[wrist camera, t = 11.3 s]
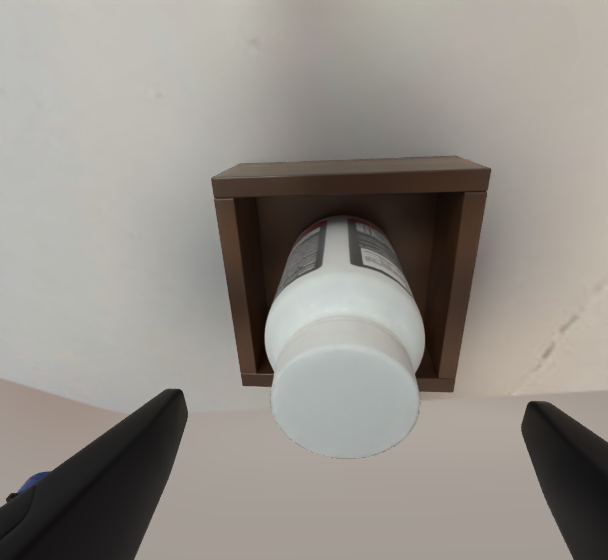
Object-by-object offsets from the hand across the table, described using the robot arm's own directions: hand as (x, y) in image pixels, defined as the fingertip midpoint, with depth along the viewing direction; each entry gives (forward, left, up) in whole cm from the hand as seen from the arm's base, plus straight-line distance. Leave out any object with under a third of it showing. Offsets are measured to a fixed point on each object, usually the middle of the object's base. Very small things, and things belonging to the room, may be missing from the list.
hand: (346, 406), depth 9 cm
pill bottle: (0, 0, -10) cm, 10 cm away
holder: (0, 0, -10) cm, 10 cm away
